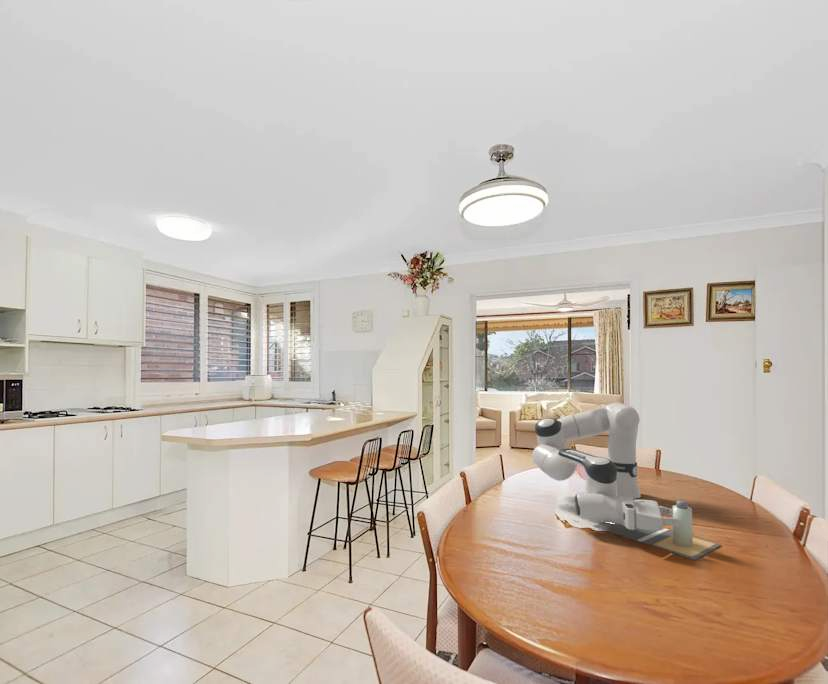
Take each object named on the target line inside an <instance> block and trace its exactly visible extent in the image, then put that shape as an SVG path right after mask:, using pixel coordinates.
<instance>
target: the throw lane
mask: <svg viewBox="0 0 828 684" xmlns="http://www.w3.org/2000/svg"><path fill="white" fill-rule="evenodd" d="M593 527H594V528H596V529H599V530H601V531H606V532H609V533H613V534H615V535H617V536H618V535H619V536H621V537H624V538H628V539H631V540H633V541H637V542H641V543H643V544H645V545H650V546H652V547H655V548H658V549H662V550H664V551H668V552H671V554H674V555H677V556H680V557H682V558H686V559H689V560H693V561H696V560H698V559H700V558H702V557H703V556H705V555H707V554H709V553H710V552H712V551H714V550H716V549H718V548H720V547H721V544H720V543H717V542H714V541H710V540H706V539H703V538H700V537H695V536H693V546H692V547H682V546H678V545H676V544H674V543H673V529H672V530H671V529H669V528H664V527H663V530H658V531H654V530H642V529H637V528H636V527H635V530H630V529H627V528H626V527H625V526H623V525H619V524H610V523H604V522H600V523H599V524H596V525H593Z"/></svg>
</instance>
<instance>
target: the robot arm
mask: <svg viewBox="0 0 828 684" xmlns="http://www.w3.org/2000/svg"><path fill="white" fill-rule="evenodd" d="M639 425H640V415H639V413H638V412H637V410H636V409H635V408H634V407H633V406H631V405H628V404H626V403H622V402H617V401H616V402H612V403H609V404H605V405H602V406H599V407H596V408H594V409H589V410H585V411H580V412H577V413H576V412H575V413H573V414H569V415H566V416H562V417H560V418H557V419H555V418H552V417H546V418H542V419H540V420H538V421H537V423H536V424H535V425H534V431H535V435H536V440H537V446H535V447H534V448H533V451H532V452H531V453H532V454H531V458H532V462H533V463H534V464H535V465H536V466H537V468H539V470H540V471H542V472H543V473H544V474H546V475H547V476H548V477H549V478H551V479H553V480H555V481H558V482H560V481H561V482H562V481H566V480H568V479H569V478H571V477H572V475H574V474H575V471H576V469H577V466H578V465H577V464H579V465H580V466H581V468H583V470H584V473H585V481H586V482H585V483H586V485H585V487H584V489H585V490H584V491H583V492H581V493H580V492H579V493H576V494H575V497H574V505H575V512H576V515H577V516H578V517H579V518H581V519H583V520H586V521H592V522H597V523H604V522H612V523H615V524H619V525H623V526H625V527H626V528H627V529H630V530H635V527H636V528H637V529H642V530H654V531H658V530H663V528H664V526H673V525H679V519H678V518H674V517H673V508H669V507H666V506H662V505H659V504H658V501H656V500H652V499H651V500H650V499H639V498H641V497H642V495H641V492H640V488H639V485H638V484H639V483H638V462H637V449H636V448H637V446H636V445H637V437H638V431H639V430H638V429H639ZM606 432H609V435H608V440H607V457H602V456H597V455H596V456H595V455H592V454H590V453H588V452H587V453H586V452H584V451H581V450H577V449H573V448H567V444H566V442H570V441H577V440H582V439H585V438H590V437H595V436H596V437H597V436H599V435H601V434H603V433H606ZM580 466H579V467H580ZM662 514H663V515H668V516H671V517H667V516H662Z"/></svg>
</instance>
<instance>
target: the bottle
mask: <svg viewBox="0 0 828 684" xmlns="http://www.w3.org/2000/svg"><path fill="white" fill-rule="evenodd" d="M688 505H689V504H688V501H685V500H679V499H678V500H676V504H675V505H672V509H673V516H672V517H674V518H678V519H679V525H672V531H673V543H674V544H676V545H678V546H682V547H692V546H693V537H694V536H693V532H694V531H693V509H692V507H689V506H688Z"/></svg>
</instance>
